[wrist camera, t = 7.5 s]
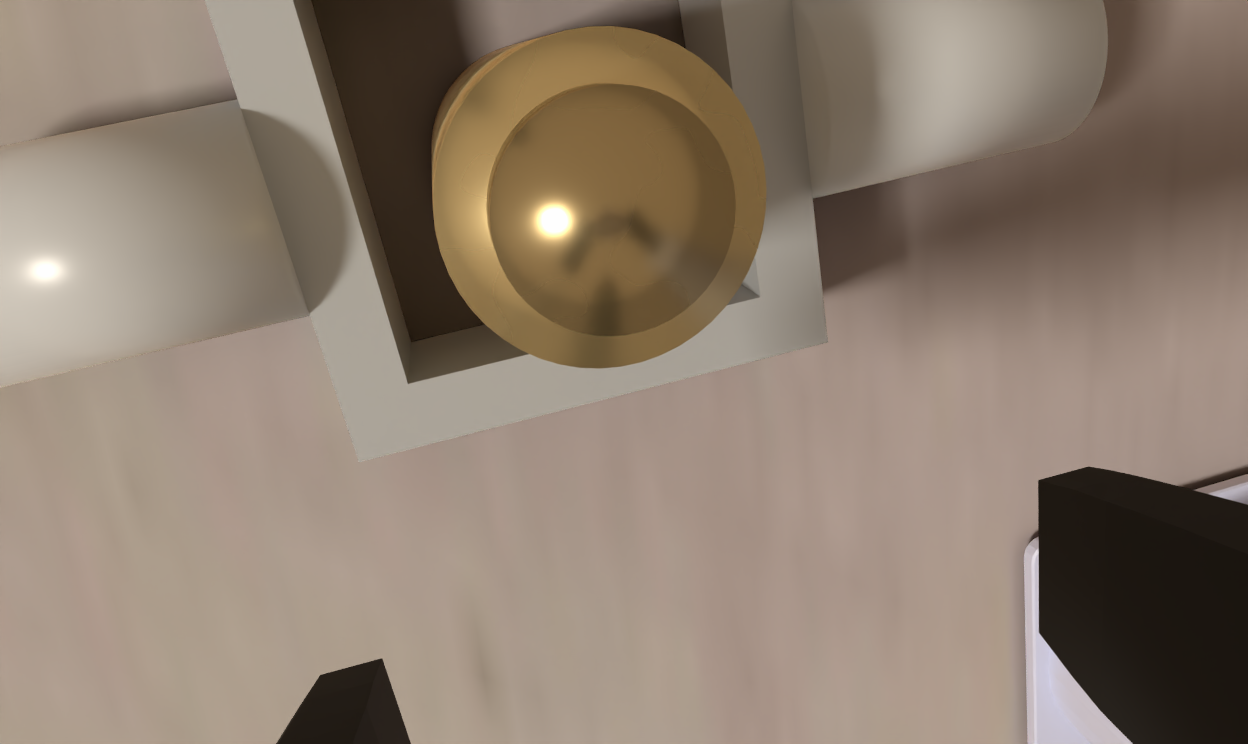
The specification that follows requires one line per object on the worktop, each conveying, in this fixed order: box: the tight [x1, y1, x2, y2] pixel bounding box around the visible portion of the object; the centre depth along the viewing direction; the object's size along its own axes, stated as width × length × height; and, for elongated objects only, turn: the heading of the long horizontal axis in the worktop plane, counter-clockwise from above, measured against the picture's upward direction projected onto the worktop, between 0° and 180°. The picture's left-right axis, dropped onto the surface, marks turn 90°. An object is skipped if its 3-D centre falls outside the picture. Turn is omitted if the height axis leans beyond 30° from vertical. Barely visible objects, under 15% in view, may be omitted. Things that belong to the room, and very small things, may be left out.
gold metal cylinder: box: [431, 26, 767, 369], centre depth 13 cm, size 4×4×8 cm
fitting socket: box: [0, 0, 1108, 462], centre depth 15 cm, size 19×9×4 cm, turn 101°
